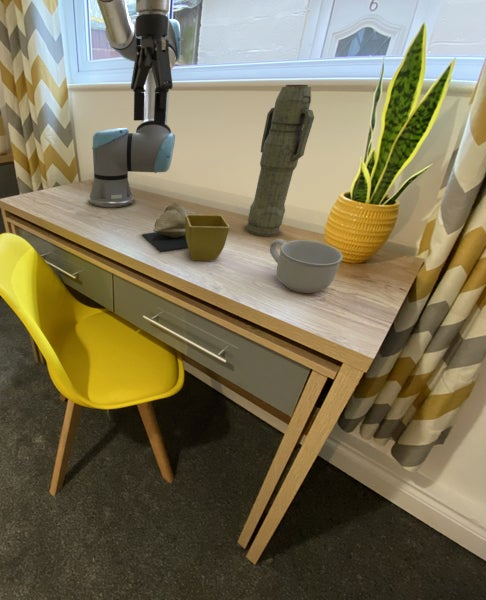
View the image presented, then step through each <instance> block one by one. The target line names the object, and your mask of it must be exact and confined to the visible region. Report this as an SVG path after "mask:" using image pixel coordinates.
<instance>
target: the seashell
mask: <svg viewBox="0 0 486 600" xmlns="http://www.w3.org/2000/svg"><path fill="white" fill-rule="evenodd" d="M185 215H201V214H200V213H197V212H195V211H193V210H191V209H188V208H185V207H183V206H181V205H180V204H178V203H177V202H176V203H175V202H174V203H171V204H168V205H167V207H165V210H164V212H163V213H162V214H161V215H159V216H158V217H157V218H156V220H155V221H154V227H153V229H152V231H153V233H155V232H159V233H161V234H163V235H165V236H168V237H172V238H179V237H181V236H183V237H184V236H186V235H185Z"/></svg>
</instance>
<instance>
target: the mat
mask: <svg viewBox="0 0 486 600" xmlns="http://www.w3.org/2000/svg"><path fill="white" fill-rule="evenodd" d="M141 236H142V237H143V238H144V239H145V240H146V241H147V242H148V243H150V244H151V245H152V246H153V248H155V249H156V250H157V251H158V252H159V253H165V252H172V251H179V250H185V249H189V248H188V245H187V242H186V236H184V237H183V236H181V237H179V238H172V237H168V236H165V235H163V234H161V233H159V232H148V233H142V234H141Z"/></svg>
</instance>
